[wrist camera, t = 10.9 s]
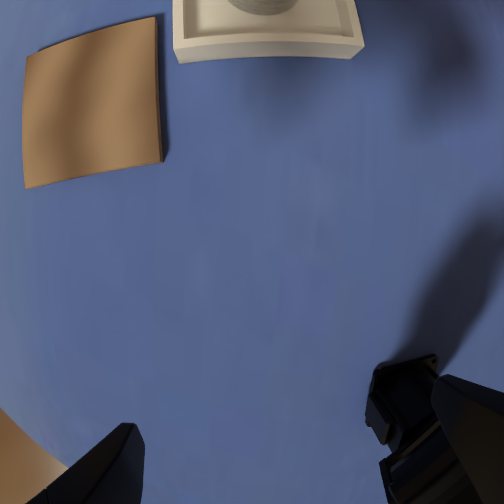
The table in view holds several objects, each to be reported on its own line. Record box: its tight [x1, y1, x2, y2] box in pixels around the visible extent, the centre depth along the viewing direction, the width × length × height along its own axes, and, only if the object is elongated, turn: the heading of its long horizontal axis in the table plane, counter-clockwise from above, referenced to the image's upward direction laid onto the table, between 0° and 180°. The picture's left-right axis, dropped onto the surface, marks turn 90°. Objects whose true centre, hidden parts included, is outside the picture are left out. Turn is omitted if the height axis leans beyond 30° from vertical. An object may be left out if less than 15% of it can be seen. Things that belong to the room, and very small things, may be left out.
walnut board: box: [22, 17, 163, 189], centre depth 16 cm, size 10×10×1 cm
